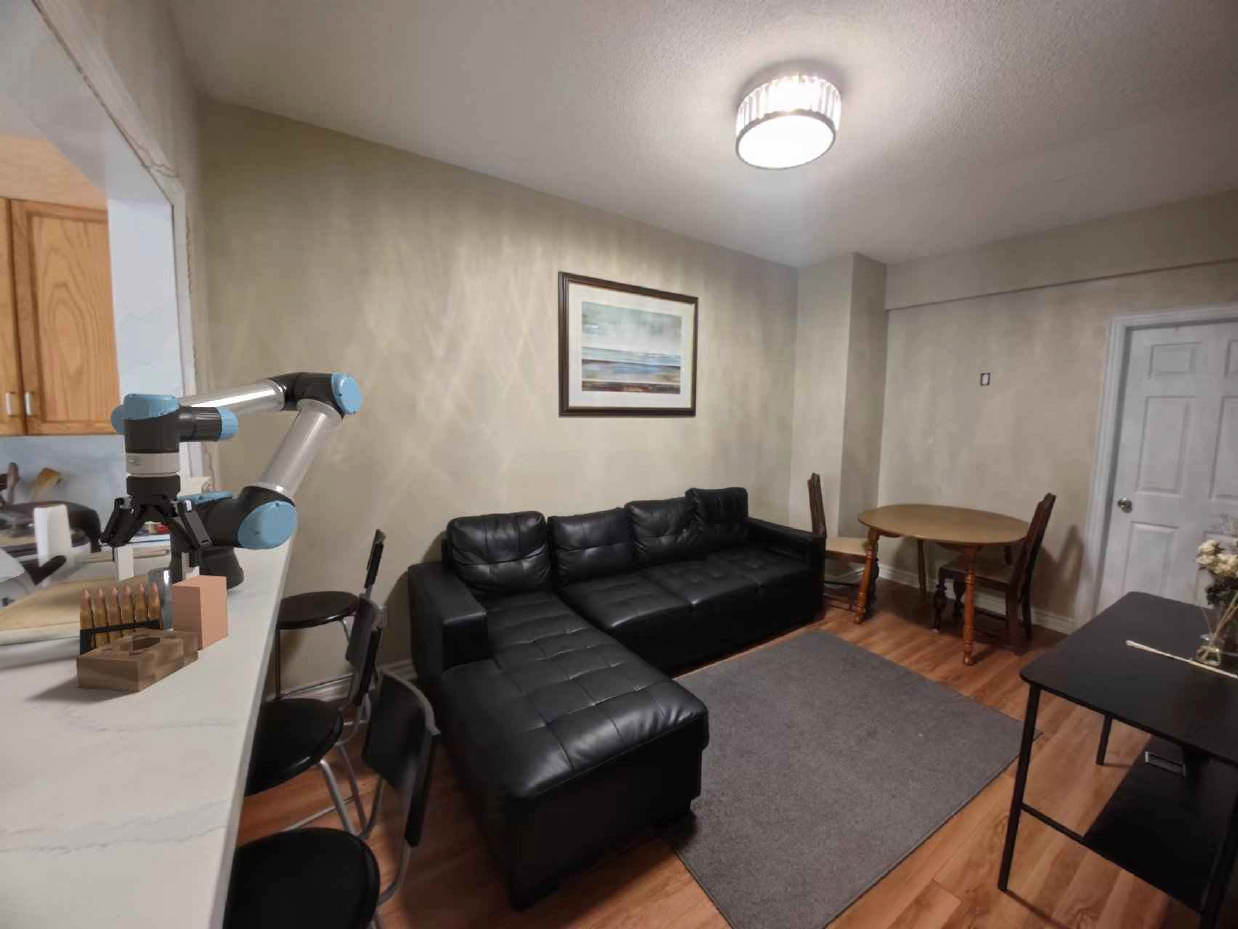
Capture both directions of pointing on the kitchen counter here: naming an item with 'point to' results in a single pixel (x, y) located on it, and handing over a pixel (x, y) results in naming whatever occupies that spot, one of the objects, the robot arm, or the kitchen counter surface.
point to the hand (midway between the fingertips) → (157, 581)
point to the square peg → (201, 608)
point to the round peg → (163, 592)
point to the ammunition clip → (117, 616)
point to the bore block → (136, 660)
